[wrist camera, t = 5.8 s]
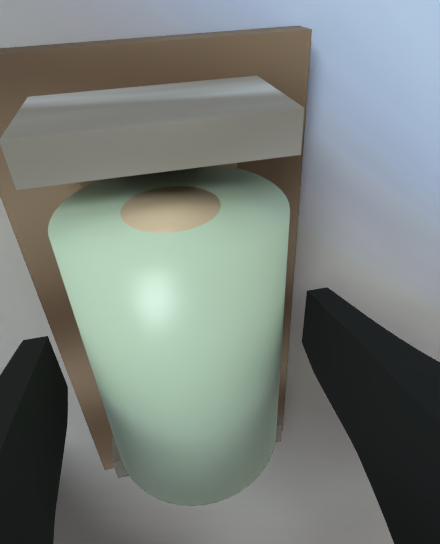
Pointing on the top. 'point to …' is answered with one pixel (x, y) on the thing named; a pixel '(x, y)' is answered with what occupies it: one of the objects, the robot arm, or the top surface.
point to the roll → (181, 320)
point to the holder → (144, 146)
